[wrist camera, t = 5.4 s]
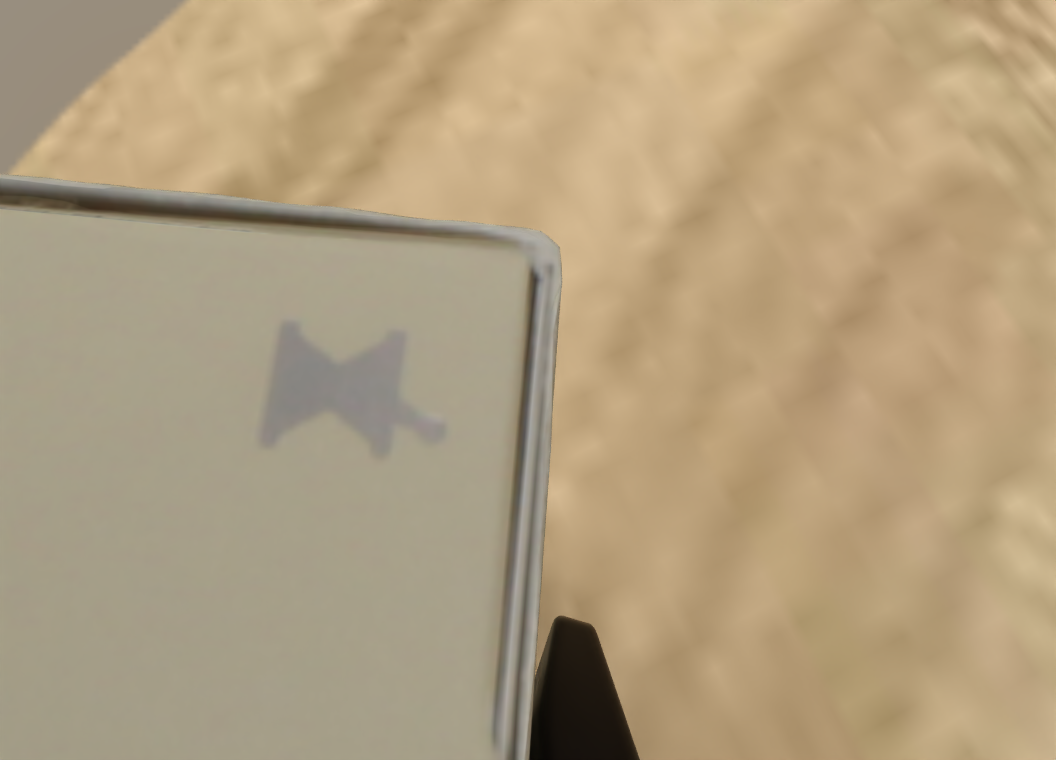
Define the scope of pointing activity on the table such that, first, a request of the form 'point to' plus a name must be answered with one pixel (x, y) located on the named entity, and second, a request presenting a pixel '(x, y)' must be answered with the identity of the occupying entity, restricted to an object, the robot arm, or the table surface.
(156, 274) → the cosmetic box
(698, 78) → the table surface
